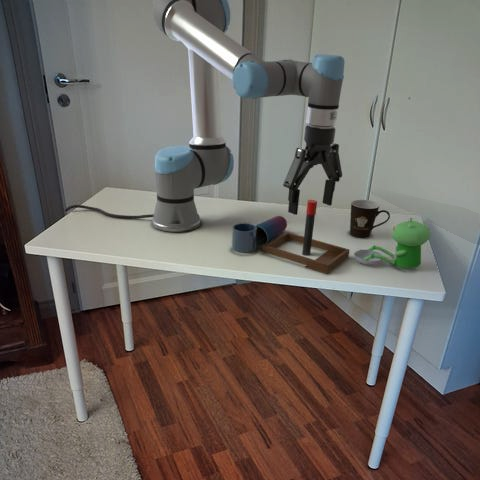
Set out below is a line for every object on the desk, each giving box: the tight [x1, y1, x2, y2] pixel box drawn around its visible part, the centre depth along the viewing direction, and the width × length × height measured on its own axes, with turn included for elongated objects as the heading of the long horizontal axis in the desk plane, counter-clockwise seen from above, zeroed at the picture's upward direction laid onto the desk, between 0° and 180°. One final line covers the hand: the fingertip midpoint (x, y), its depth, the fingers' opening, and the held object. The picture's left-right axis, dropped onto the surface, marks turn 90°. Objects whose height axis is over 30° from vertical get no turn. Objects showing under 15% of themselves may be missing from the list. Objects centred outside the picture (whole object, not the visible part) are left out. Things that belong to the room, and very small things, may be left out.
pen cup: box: [231, 222, 257, 254], centre depth 137 cm, size 7×7×7 cm
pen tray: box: [262, 231, 351, 275], centre depth 136 cm, size 21×14×3 cm, turn 55°
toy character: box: [360, 217, 431, 269], centre depth 131 cm, size 10×18×13 cm, turn 73°
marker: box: [301, 199, 318, 257], centre depth 132 cm, size 3×3×16 cm
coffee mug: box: [349, 199, 391, 239], centre depth 149 cm, size 12×9×10 cm
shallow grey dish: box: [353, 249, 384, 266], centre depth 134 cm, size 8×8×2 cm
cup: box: [254, 215, 288, 248], centre depth 144 cm, size 7×7×15 cm
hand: (310, 208), depth 129 cm, fingers open, 13 cm apart
